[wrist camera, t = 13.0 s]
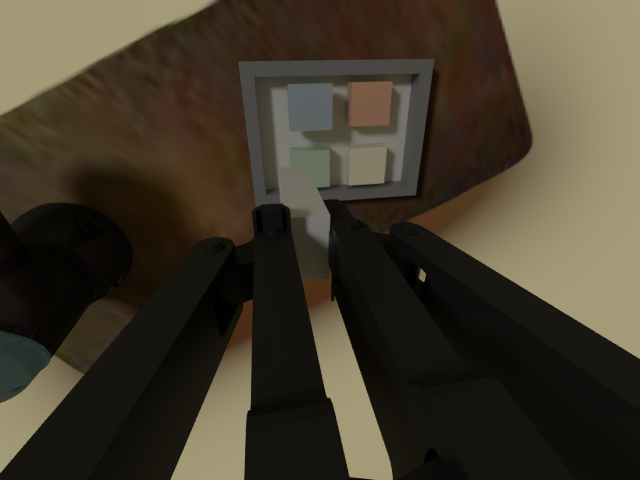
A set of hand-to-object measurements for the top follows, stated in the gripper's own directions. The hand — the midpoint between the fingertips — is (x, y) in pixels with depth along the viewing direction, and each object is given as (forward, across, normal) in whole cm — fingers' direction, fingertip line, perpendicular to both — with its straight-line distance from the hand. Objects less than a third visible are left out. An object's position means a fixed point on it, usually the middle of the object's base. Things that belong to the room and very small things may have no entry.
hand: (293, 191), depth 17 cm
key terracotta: (+28, +13, +2) cm, 31 cm away
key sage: (+28, +5, -6) cm, 29 cm away
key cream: (+28, +13, -6) cm, 31 cm away
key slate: (+26, +4, +2) cm, 27 cm away
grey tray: (+29, +9, -2) cm, 31 cm away
